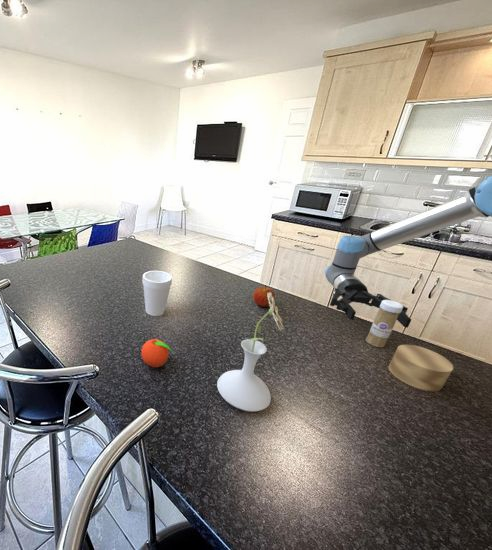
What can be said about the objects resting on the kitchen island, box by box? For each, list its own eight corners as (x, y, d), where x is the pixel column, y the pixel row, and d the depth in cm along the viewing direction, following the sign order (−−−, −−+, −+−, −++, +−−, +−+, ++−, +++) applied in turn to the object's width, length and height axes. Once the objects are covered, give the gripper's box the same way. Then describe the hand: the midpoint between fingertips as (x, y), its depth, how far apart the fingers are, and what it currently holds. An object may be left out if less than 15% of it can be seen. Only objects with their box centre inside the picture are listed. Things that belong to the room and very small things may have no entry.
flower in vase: (259, 426, 60) (289, 322, 49) (207, 397, 66) (224, 300, 56) (277, 389, 69) (306, 295, 58) (230, 367, 75) (249, 279, 65)
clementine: (174, 359, 78) (176, 337, 75) (168, 377, 72) (170, 354, 69) (145, 352, 80) (146, 330, 77) (137, 369, 74) (138, 346, 71)
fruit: (276, 307, 103) (282, 287, 100) (263, 312, 101) (268, 291, 97) (260, 299, 109) (264, 279, 106) (247, 303, 106) (251, 283, 103)
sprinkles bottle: (366, 345, 85) (384, 304, 79) (363, 336, 89) (380, 297, 83) (386, 350, 83) (406, 308, 77) (382, 341, 87) (401, 301, 81)
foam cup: (174, 315, 98) (177, 279, 93) (149, 321, 94) (152, 284, 89) (159, 302, 106) (161, 268, 100) (136, 307, 102) (137, 273, 97)
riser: (425, 366, 77) (435, 348, 74) (452, 395, 68) (465, 375, 66) (380, 359, 79) (389, 341, 77) (401, 386, 70) (412, 366, 68)
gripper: (387, 302, 102) (426, 337, 83) (308, 292, 108) (327, 323, 89) (396, 283, 99) (438, 315, 80) (313, 273, 105) (335, 301, 86)
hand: (380, 319), depth 85 cm, fingers open, 13 cm apart
